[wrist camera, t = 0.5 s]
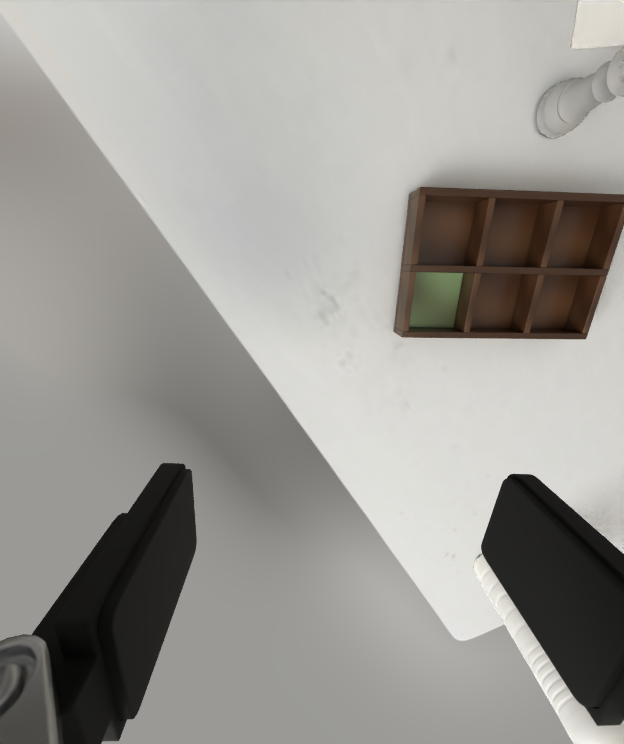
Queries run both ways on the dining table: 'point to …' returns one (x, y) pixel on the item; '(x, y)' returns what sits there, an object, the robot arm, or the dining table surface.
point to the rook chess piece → (579, 97)
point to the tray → (505, 262)
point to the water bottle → (545, 667)
